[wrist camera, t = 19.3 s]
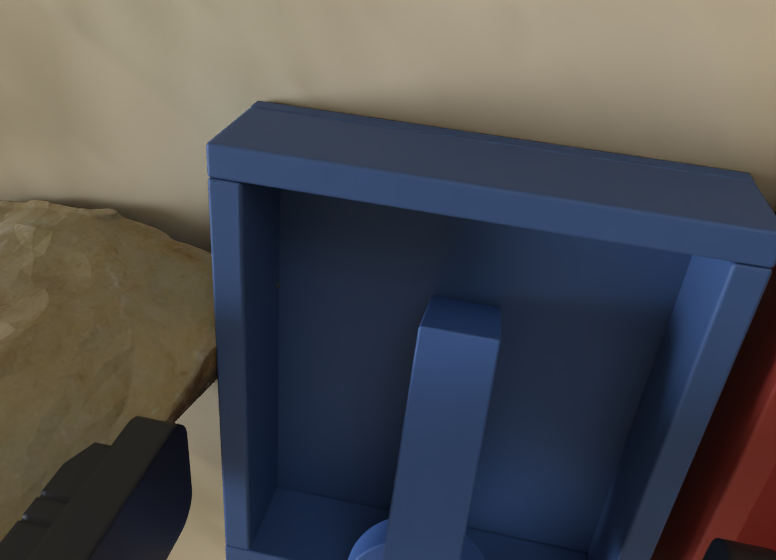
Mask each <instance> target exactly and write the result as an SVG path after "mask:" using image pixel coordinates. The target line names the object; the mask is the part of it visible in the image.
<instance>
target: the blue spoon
mask: <svg viewBox="0 0 776 560" xmlns="http://www.w3.org/2000/svg"><path fill="white" fill-rule="evenodd" d="M500 345H501V308H499V307H495V306H489V305H484V304H478V303H472V302H466V301H461V300H455V299H449V298H443V297H438V296H432V297H431V298H430V301H429V303H428V306H427V308H426V311H425V313H424V315H423V318H422V320H421V323H420V325H419V328H418V334H417V340H416V347H415V353H414V360H413V366H412V372H411V379H410V385H409V392H408V398H407V404H406V411H405V417H404V424H403V430H402V436H401V443H400V449H399V456H398V462H397V468H396V475H395V481H394V488H393V494H392V500H391V507H390V513H389V519H387V520H384V521H382V522H380V523H378V524H376V525H374V526H373V527H371V528H370V529H369V530H367V531H366V532H365V533H364V534H363V535H362V536H361V537H360V538H359V539H358V541H357V542H356V543H355V545H354V547H353V549H352V550H351V553H350V555H349V558H348V560H485V558H484V556H483V554H482V553H481V551H480V550H479V548H478V547H477V546H476V544H475V543H474V542H473V541H472V540H471V539H470V538H469V537H468V536H467V535H466V534H465V533H466V527H467V522H468V517H469V511H470V506H471V501H472V495H473V490H474V484H475V479H476V474H477V468H478V463H479V458H480V452H481V447H482V441H483V436H484V431H485V425H486V420H487V415H488V409H489V404H490V398H491V393H492V388H493V382H494V377H495V372H496V366H497V361H498V355H499V350H500Z"/></svg>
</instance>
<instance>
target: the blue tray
mask: <svg viewBox="0 0 776 560" xmlns="http://www.w3.org/2000/svg"><path fill="white" fill-rule="evenodd" d="M206 150H207V171H208V176H210V178H209V180H208V191H209V212H210V232H211V252H212V273H213V293H214V313H215V334H216V345H217V346H216V354H217V375H218V395H219V415H220V436H221V456H222V477H223V497H224V517H225V538H226V560H348V558H349V555H350V553H351V550H352V549H353V547H354V545H355V543H356V542H357V541H358V539H359V538H360V537H361V536H362V535H363V534H364V533H365V532H366V531H367V530H369V529H370V528H371V527H373V526H374V525H376V524H378V523H380V522H382V521H384V520H387V519H389V513H390V507H391V500H392V494H393V488H394V481H395V475H396V468H397V462H398V456H399V449H400V443H401V436H402V430H403V424H404V417H405V411H406V404H407V398H408V392H409V385H410V379H411V372H412V366H413V360H414V353H415V347H416V340H417V334H418V328H419V325H420V323H421V320H422V318H423V315H424V313H425V311H426V308H427V306H428V303H429V301H430V298H431V297H432V296H438V297H443V298H449V299H455V300H461V301H466V302H472V303H478V304H484V305H489V306H495V307H499V308H501V345H500V350H499V355H498V361H497V366H496V372H495V377H494V382H493V388H492V393H491V398H490V404H489V409H488V415H487V420H486V425H485V431H484V436H483V441H482V447H481V452H480V458H479V463H478V468H477V474H476V479H475V484H474V490H473V495H472V501H471V506H470V511H469V517H468V522H467V527H466V533H465V534H466V535H467V536H468V537H469V538H470V539H471V540H472V541H473V542H474V543H475V544H476V546H477V547H478V548H479V550H480V551H481V553H482V554H483V556H484V558H485V560H650V559H651V557H652V554H653V552H654V550H655V547H656V545H657V543H658V540H659V538H660V536H661V533H662V531H663V529H664V526H665V524H666V522H667V519H668V517H669V514H670V512H671V510H672V507H673V505H674V503H675V500H676V498H677V496H678V493H679V491H680V489H681V486H682V484H683V481H684V479H685V477H686V474H687V472H688V470H689V467H690V465H691V463H692V460H693V458H694V456H695V453H696V451H697V449H698V446H699V444H700V441H701V439H702V437H703V434H704V432H705V430H706V427H707V425H708V423H709V420H710V418H711V416H712V413H713V411H714V409H715V406H716V404H717V401H718V399H719V397H720V394H721V392H722V390H723V387H724V385H725V383H726V380H727V378H728V376H729V373H730V371H731V368H732V366H733V364H734V361H735V359H736V357H737V354H738V352H739V350H740V347H741V345H742V343H743V340H744V338H745V336H746V333H747V331H748V328H749V326H750V324H751V321H752V319H753V317H754V314H755V312H756V310H757V307H758V305H759V303H760V300H761V298H762V296H763V293H764V291H765V288H766V286H767V284H768V281H769V279H770V277H771V274H772V267H774V266H775V265H776V215H775V213H774V212H773V210H772V209H771V207H770V206H769V204H768V203H767V201H766V199H765V198H764V196H763V195H762V193H761V192H760V190H759V189H758V187H757V186H756V184H755V183H754V180H753V178H752V177H751V175H750V174H749V173H745V172H738V171H732V170H725V169H718V168H711V167H704V166H698V165H691V164H684V163H677V162H671V161H664V160H657V159H650V158H643V157H637V156H630V155H623V154H616V153H609V152H603V151H596V150H589V149H582V148H575V147H569V146H562V145H555V144H548V143H541V142H535V141H528V140H521V139H514V138H507V137H501V136H494V135H487V134H480V133H473V132H467V131H460V130H453V129H446V128H440V127H433V126H426V125H419V124H412V123H406V122H399V121H392V120H385V119H378V118H372V117H365V116H358V115H351V114H344V113H338V112H331V111H324V110H317V109H310V108H304V107H297V106H290V105H283V104H276V103H270V102H263V101H257V102H256V103H254V104H253V105H252V106H251V108H249V109H248V110H247V111H246V112H244V113H243V114H242V115H241V116H240V117H238V118H237V119H236V120H235V121H233V122H232V123H231V124H230V125H229V126H227V127H226V128H225V129H224V130H222V131H221V132H220V133H219V134H218V135H216V136H215V137H214V138H213V139H212V140H210V141H209V142H208V143H207V145H206ZM278 283H279V287H278V288H277V285H278Z"/></svg>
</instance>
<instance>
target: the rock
mask: <svg viewBox="0 0 776 560" xmlns="http://www.w3.org/2000/svg"><path fill="white" fill-rule="evenodd" d="M278 287H279V283H278V285H277V288H278ZM216 346H217V345H216V334H215V313H214V293H213V273H212V254H211V253H209V252H207V251H205V250H202V249H200V248H197V247H195V246H192V245H190V244H186V243H182V242H178V241H176V240H173V239H171V238H170V236H169V235H168V234H166V233H164V232H162V231H160V230H159V229H157V228H155V227H152V226H148V225H145V224H143V223H140V222H137V221H134V220H130V219H127V218H124V217H122V216H121V215H120V214H119V213H118V212H117V211H115V210H114V209H109V208H108V209H84V208H77V207H69V206H64V205H60V204H52V203H50V202H47V201H42V200H30V201H28V202H25V203H23V202H12V201H0V542H1V541H2V540H3V538H4V537H5V536H6V535H7V533H8V532H9V531H10V530H11V528H12V527H13V526H14V525H15V523H16V522H17V521H18V520H19V521H20V520H21V519H22V517H23V513H24V512H25V511H26V510H27V508H28V507H29V506H30V505H31V503H32V502H33V501H34V500H35V498H36V497H40V495H41V491H42V490H43V488H44V487H45V486H46V485H47V483H48V482H49V481H50V480H51V478H52V477H53V476H54V475H55V473H56V472H57V471H58V470H59V468H60V467H61V466H62V465H63V464H64V463H65V462H66V461H68V460H69V459H71V458H72V457H74V456H75V455H77V454H78V453H80V452H81V451H83V450H84V449H86V448H87V447H89V446H90V445H92V444H93V443H95V442H96V443H101V444H106V445H110V446H111V445H112V443H113V442H114V441H115V439H116V438H117V437H118V435H119V434H120V433H121V431H122V430H123V429H124V427H125V426H126V425H127V423H128V422H129V421H130V420H131V419H132V418H134V417H136V416H142V417H147V418H152V419H156V420H161V421H166V422H171V423H174V422H175V421H176V420H177V419H178V418H179V417H180V416H181V415H182V414H183V413H184V412H185V411H186V410H187V409H188V408H189V407H190V406H191V405H192V404H193V403H194V402H195V401H196V399H197V398H199V397H200V396H201V395H202V394H203V393H204V392H205V391H206V389H207V388H208V387H210V386H211V384H212V383H213V382H214V381H215V380H216V379H217V378H218V375H217V354H216Z"/></svg>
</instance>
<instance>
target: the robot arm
mask: <svg viewBox="0 0 776 560" xmlns="http://www.w3.org/2000/svg"><path fill="white" fill-rule="evenodd" d="M191 499H192V485H191V473H190V462H189V450H188V439H187V431H186V428H185V427H184V426H183V425H180V424H176V423H171V422H166V421H161V420H156V419H152V418H147V417H142V416H136V417H134V418H132V419H131V420H130V421H129V422H128V423H127V425H126V426H125V427H124V429H123V430H122V431H121V433H120V434H119V435H118V437H117V438H116V439H115V441H114V442H113V443H112V445H111V446H110V445H106V444H101V443H96V442H95V443H93V444H92V445H90V446H89V447H87V448H86V449H84V450H83V451H81V452H80V453H78V454H77V455H75V456H74V457H72V458H71V459H69V460H68V461H66V462H65V463H64V464H63V465H62V466H61V467H60V468H59V470H58V471H57V472H56V473H55V475H54V476H53V477H52V478H51V480H50V481H49V482H48V483H47V485H46V486H45V487H44V488H43V490H42V491H41V495H40V497H36V498H35V500H34V501H33V502H32V503H31V505H30V506H29V507H28V508H27V510H26V511H25V512H24V513H23V517H22V519H21V520H20V521H19V520H18V521H17V522H16V523H15V525H14V526H13V527H12V528H11V530H10V531H9V532H8V533H7V535H6V536H5V537H4V538H3V540H2V541H1V542H0V560H166V559H167V558H168V556H169V554H170V552H171V550H172V548H173V547H174V545H175V543H176V541H177V539H178V537H179V536H180V534H181V532H182V530H183V528H184V525H185V523H186V520H187V517H188V514H189V510H190V505H191ZM702 560H776V552H775V551H774V550H773V549H770V548H765V547H760V546H755V545H751V544H746V543H741V542H736V541H731V540H727V539H722V538H715V539H714V540H713V541H712V542H711V543H710V545H709V547H708V549H707V551H706V553H705V555H704V557H703V559H702Z"/></svg>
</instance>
